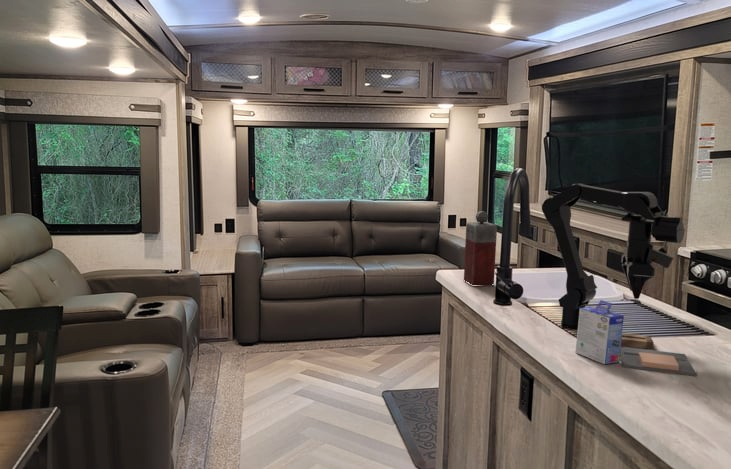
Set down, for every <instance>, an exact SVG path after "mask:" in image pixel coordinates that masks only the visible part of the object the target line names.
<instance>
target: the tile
mask: <svg viewBox="0 0 731 469" xmlns="http://www.w3.org/2000/svg"><path fill="white" fill-rule="evenodd" d="M638 357H639V360H640V362H641V365H642V366H644V367H653V368H661V369H669V370H677V371H679V365H678V363H677V361H676V359H675V357H674V356H668V355H660V354H651V353H642V352H639V355H638Z"/></svg>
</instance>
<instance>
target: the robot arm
mask: <svg viewBox="0 0 731 469" xmlns="http://www.w3.org/2000/svg"><path fill="white" fill-rule="evenodd" d="M581 199H583V200H588V201H593V202H599V203H603V204H608V205H612V206H613V205H614V206H617V207H619V208H621V209H623V210H625V211H627V213H626V214H625V215H624V216H623V217H621V221H624V222H625V221H626V222H628V231H627V233H628V234H627V240H626V245H627V246H626V252H625V253H623V254H622V255H621V263H622V264H621V266H622V269H623V272H624V275H625V278H626V281H627V284H628V288H629V291H631V292H632V295H633V298H634V299H635V300H639V299H640V296H641V294H642V292H643V288H644V287H645V286H644V285H645V283H646V282H647V281H649V280H650V279H652V278H653V277H655V268H654V266H653V265H652V263H655V264H657V265H659V266H662V267H663V268H666V269H669V268H670V266H671V264H672V262H673V260H674V257H673V256H672V255H670V254H669V253H667V249H666V248H664V247H661V246H659V247H658V248H654V245H653V244H652V238H654V240H655V241H657V242H664V243H673V244H681V243H682V241H683V239H684V236H685V232H686V231H685V230H686V229H685V225H684V222H683V217H681V216H666V215H665V213H663V211H662V208H661V207H660V206H659V204H658V198H657V197H656V196H655V194H654V193H652V192H651V191H619V190H615V189H610V188H609V189H608V188H603V187H598V186H592V185H588V184H585V183H573V184H572V185H570V186H569V187H568V188H566V189H565V190H563V191H560V192H559V193H558V194H556V195H553V197H548V198H546V199H545V200H544V201H543V202H542V205H541V212H542V213H543V216H544V218H545V220H546V221H547V222H548V223H549V225H550V226H551V227H552V229H553V231H554V234H555V238H556V241H557V245H558V248H559V252H560V254H561V257H562V262H563V265H564V267H565V271H566V280H565V281H566V283H565V287H566V293H565V294H564V295H563V296H561V297H560V298H558V304H559V307H561V308H562V312H561V320H560V327H561V328H564V329H565V328H566V329H574V330H575V329H576V330H578V321H579V311H580V308H584V307H586V306H588V305H589V303H590V301H592V300H593V299H594V298H595V296H596V295H597V290H596V289H597V288H598V286H597V285H596V283H595V277H594V275H593V274H590V275H588V274H587V273H586V271H585V270H584V267H583V265H582V264H583V263H582V260H581V258H580V254H579V251H578V247H577V244H576V240H575V238H574V234H573V230H572V227H571V218H572V211H571V210H572V209H571V208H572V207H574V206H575V205H576V204H577V203H578V202H579V201H580V200H581Z"/></svg>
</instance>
